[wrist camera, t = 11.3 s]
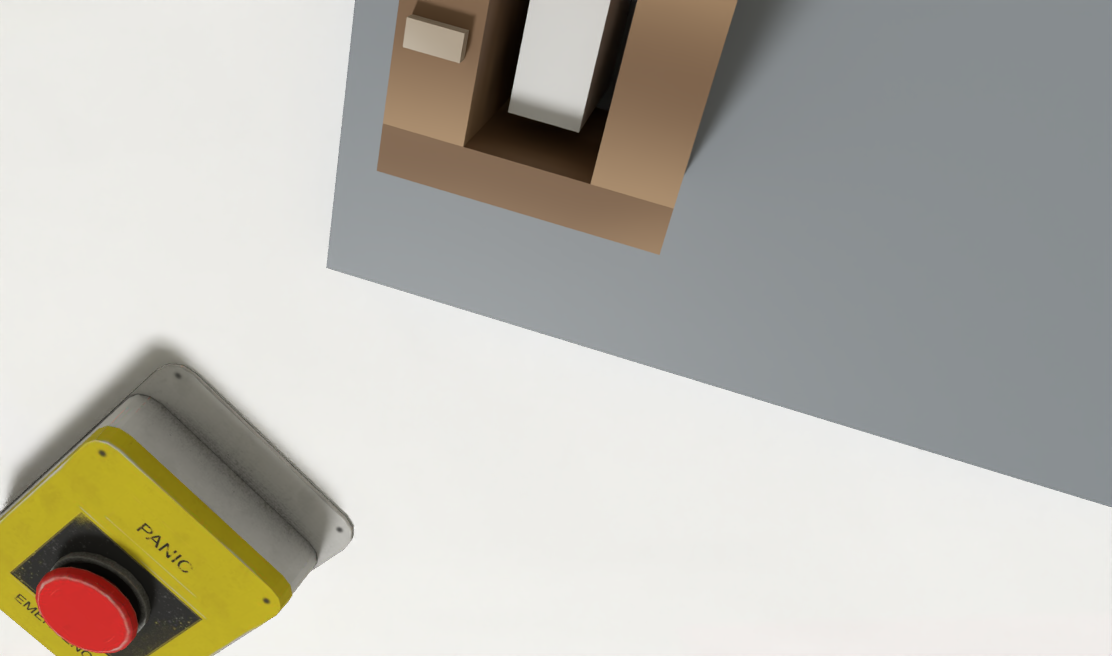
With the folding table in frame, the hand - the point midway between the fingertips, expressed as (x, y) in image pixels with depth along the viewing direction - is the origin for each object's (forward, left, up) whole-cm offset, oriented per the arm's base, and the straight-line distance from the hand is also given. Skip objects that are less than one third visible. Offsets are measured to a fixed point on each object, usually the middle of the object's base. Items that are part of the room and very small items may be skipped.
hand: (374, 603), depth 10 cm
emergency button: (+14, +22, -20) cm, 32 cm away
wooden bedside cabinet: (+1, -2, -17) cm, 17 cm away
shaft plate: (-4, 0, -19) cm, 19 cm away
